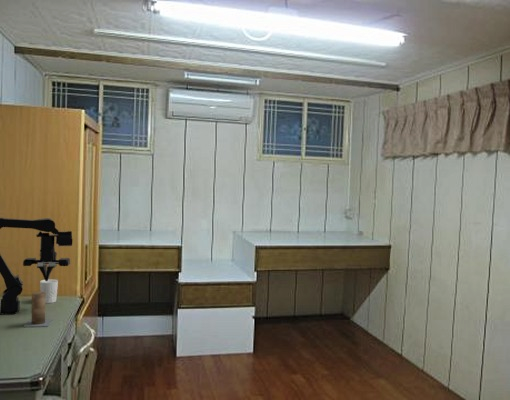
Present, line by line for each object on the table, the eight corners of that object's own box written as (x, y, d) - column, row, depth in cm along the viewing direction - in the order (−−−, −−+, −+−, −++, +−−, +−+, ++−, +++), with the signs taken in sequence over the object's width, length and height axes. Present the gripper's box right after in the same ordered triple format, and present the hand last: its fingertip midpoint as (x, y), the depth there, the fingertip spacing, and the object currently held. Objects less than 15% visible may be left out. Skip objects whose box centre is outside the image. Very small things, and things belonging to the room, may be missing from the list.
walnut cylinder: (28, 323, 187) (28, 294, 187) (37, 319, 192) (38, 291, 191) (38, 325, 186) (39, 295, 185) (47, 321, 191) (48, 292, 190)
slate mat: (23, 327, 184) (23, 326, 184) (29, 320, 193) (29, 319, 193) (47, 326, 186) (47, 325, 185) (52, 320, 194) (52, 319, 194)
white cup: (39, 300, 224) (40, 279, 224) (57, 299, 228) (57, 278, 227) (39, 304, 217) (40, 283, 217) (57, 303, 221) (58, 282, 220)
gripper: (72, 244, 218) (72, 277, 218) (30, 243, 214) (29, 277, 215) (68, 247, 207) (67, 282, 208) (23, 247, 203) (22, 282, 204)
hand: (46, 280), depth 209 cm, fingers closed
